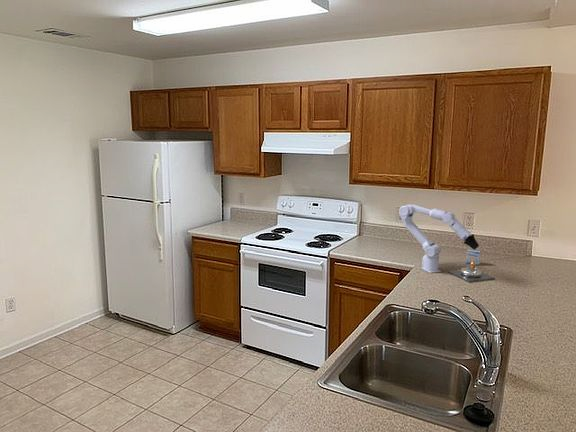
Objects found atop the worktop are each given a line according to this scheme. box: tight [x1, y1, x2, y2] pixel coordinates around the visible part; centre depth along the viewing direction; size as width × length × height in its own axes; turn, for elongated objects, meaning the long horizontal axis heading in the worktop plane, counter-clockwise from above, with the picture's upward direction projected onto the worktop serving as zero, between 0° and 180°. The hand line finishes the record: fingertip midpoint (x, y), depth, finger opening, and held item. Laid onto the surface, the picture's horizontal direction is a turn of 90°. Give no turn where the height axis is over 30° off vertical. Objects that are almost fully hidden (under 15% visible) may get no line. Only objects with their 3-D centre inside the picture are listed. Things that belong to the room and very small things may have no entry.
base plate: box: [447, 269, 496, 284], centre depth 255 cm, size 18×18×1 cm
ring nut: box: [460, 261, 482, 277], centre depth 258 cm, size 18×11×4 cm, turn 154°
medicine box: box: [465, 249, 482, 266], centre depth 278 cm, size 8×4×9 cm, turn 62°
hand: (476, 247), depth 246 cm, fingers open, 7 cm apart
